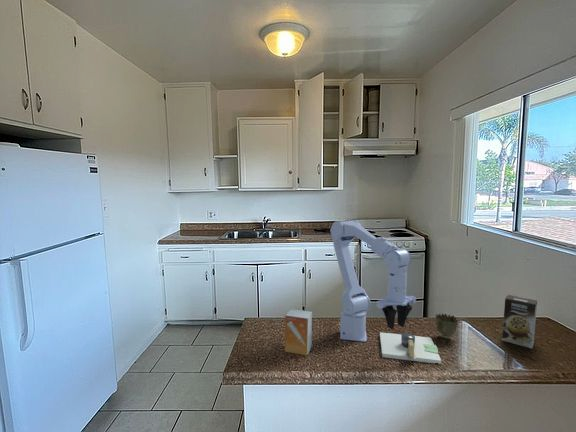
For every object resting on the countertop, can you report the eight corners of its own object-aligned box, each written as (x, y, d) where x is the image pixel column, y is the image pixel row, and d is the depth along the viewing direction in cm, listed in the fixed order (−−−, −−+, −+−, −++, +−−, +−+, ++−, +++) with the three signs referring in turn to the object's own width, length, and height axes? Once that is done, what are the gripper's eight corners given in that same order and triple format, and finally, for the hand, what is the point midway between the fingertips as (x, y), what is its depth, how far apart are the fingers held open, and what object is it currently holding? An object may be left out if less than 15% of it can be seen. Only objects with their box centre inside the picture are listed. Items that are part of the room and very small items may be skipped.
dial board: (382, 359, 103) (382, 355, 102) (379, 335, 120) (379, 331, 119) (444, 367, 98) (444, 362, 98) (432, 341, 115) (432, 337, 115)
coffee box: (501, 340, 116) (504, 298, 114) (504, 334, 120) (507, 293, 119) (532, 349, 109) (535, 304, 108) (534, 342, 114) (537, 299, 113)
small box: (284, 352, 107) (284, 315, 106) (289, 343, 113) (290, 308, 112) (307, 356, 104) (308, 318, 103) (311, 347, 110) (312, 311, 109)
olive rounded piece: (459, 343, 113) (460, 322, 113) (437, 341, 115) (438, 320, 114) (453, 334, 121) (454, 314, 120) (432, 332, 122) (433, 312, 122)
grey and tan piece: (400, 340, 112) (400, 329, 112) (413, 342, 111) (414, 331, 111) (404, 356, 101) (404, 344, 101) (419, 358, 100) (419, 346, 100)
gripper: (387, 292, 96) (385, 335, 97) (423, 287, 101) (422, 328, 102) (372, 285, 102) (371, 326, 103) (407, 281, 108) (406, 319, 109)
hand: (395, 326), depth 103 cm, fingers open, 4 cm apart
